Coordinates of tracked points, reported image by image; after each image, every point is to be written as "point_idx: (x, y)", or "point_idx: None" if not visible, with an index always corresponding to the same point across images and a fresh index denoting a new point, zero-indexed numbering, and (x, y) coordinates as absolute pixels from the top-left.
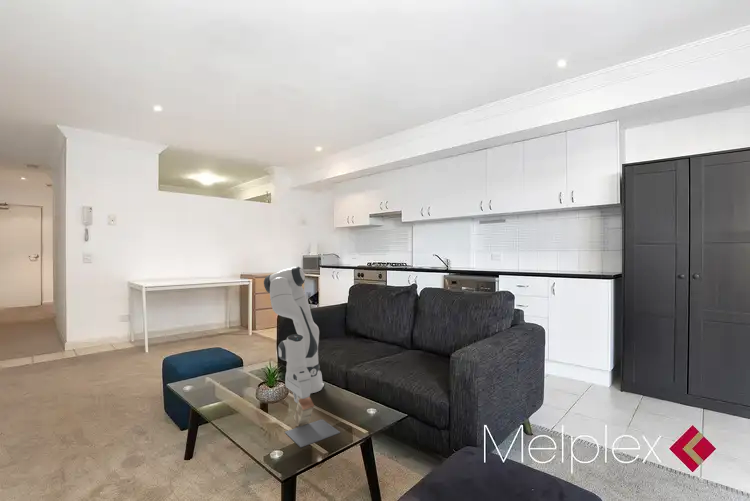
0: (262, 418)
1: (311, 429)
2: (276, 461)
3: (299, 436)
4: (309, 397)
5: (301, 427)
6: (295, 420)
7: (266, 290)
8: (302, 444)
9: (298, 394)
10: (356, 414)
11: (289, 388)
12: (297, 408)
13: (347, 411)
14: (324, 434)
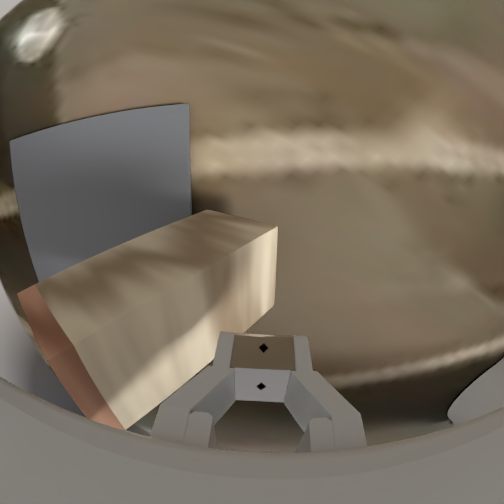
0: (488, 114)
1: None
2: (5, 37)
3: (77, 165)
4: None
5: (171, 221)
6: (241, 221)
7: None
8: (17, 153)
9: (20, 416)
10: None
11: (459, 444)
12: (156, 280)
13: (219, 421)
14: (51, 272)
